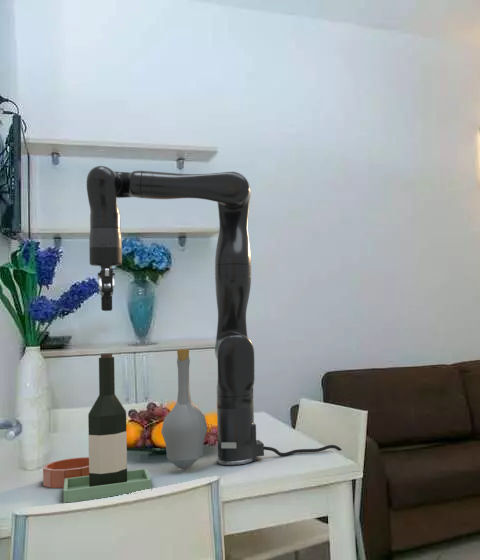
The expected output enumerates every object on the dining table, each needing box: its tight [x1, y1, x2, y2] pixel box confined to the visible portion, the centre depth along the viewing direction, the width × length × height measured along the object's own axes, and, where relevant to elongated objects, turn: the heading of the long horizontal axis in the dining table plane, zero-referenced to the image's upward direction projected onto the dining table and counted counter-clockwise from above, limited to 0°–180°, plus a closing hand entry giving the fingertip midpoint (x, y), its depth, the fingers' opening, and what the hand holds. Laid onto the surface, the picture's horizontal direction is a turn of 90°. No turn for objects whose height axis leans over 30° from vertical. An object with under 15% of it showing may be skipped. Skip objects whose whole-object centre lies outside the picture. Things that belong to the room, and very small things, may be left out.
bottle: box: [160, 348, 208, 471], centre depth 169 cm, size 11×11×30 cm
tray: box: [62, 467, 152, 504], centre depth 152 cm, size 17×11×3 cm, turn 116°
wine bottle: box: [87, 352, 128, 487], centre depth 153 cm, size 8×8×30 cm
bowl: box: [42, 456, 89, 489], centre depth 162 cm, size 13×13×4 cm
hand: (106, 310), depth 171 cm, fingers open, 8 cm apart
